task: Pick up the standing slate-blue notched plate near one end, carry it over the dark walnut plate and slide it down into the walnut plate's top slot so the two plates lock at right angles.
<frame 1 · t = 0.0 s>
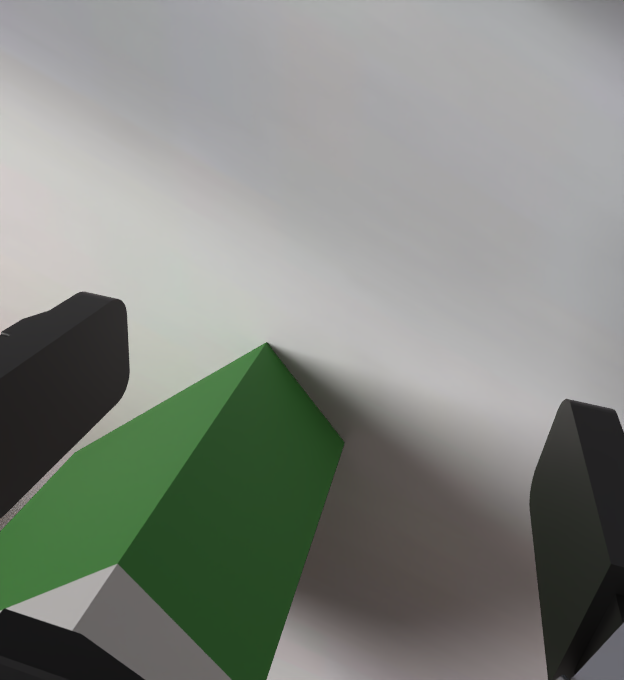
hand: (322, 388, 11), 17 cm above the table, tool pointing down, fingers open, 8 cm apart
hardback book: (199, 446, 37), on the table
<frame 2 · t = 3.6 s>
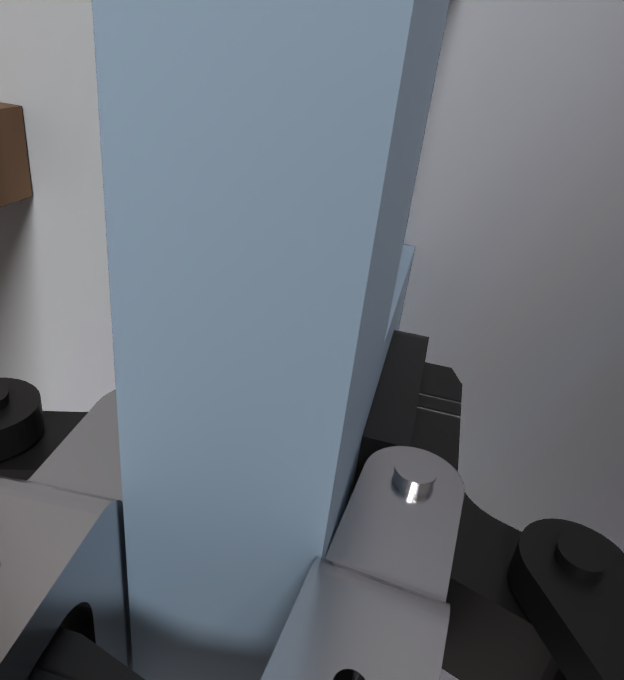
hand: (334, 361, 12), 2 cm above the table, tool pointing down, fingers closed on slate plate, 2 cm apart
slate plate: (387, 111, 11), on the table, touching gripper
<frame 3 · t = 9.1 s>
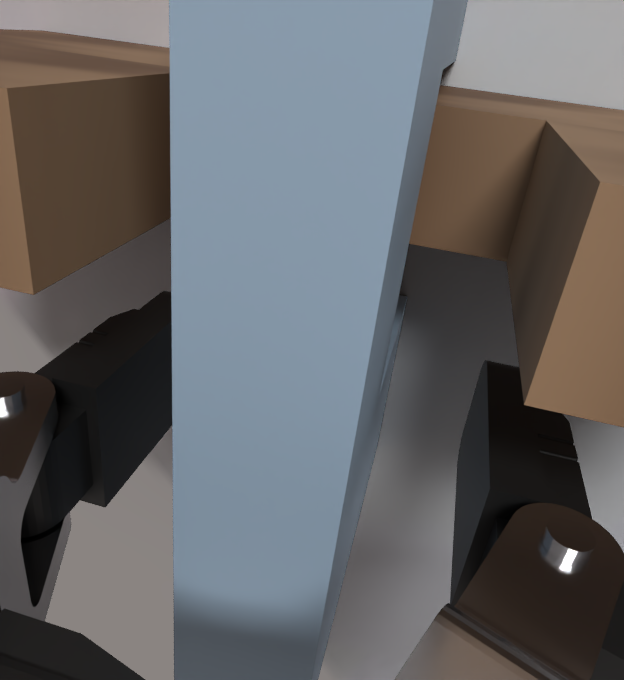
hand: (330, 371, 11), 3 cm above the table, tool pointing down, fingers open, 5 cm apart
walnut plate: (388, 131, 12), on the table
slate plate: (383, 182, 13), on the table
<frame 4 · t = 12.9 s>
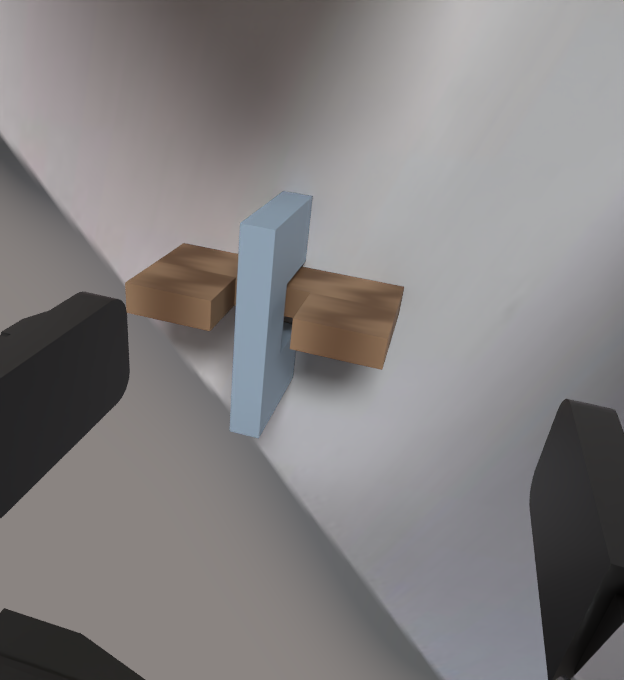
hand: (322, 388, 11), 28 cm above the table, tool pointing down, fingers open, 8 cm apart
walnut plate: (289, 277, 41), on the table
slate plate: (288, 291, 41), on the table
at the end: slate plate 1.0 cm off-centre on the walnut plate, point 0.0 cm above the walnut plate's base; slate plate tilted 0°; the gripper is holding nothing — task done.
